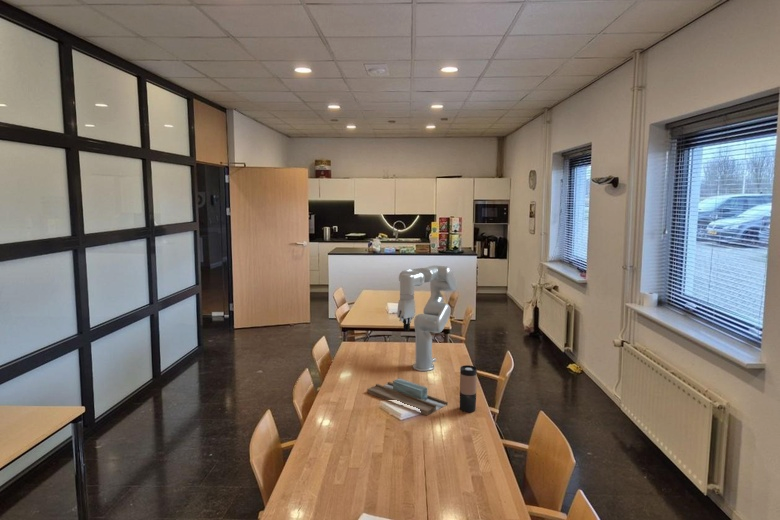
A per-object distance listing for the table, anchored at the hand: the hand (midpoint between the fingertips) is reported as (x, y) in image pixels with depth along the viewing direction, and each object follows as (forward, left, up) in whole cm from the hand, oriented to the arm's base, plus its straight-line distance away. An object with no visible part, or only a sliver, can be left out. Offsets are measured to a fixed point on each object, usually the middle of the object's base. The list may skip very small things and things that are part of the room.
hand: (406, 330), depth 257 cm
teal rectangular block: (+17, +17, -27) cm, 36 cm away
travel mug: (+10, +46, -27) cm, 54 cm away
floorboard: (+20, +17, -27) cm, 38 cm away
